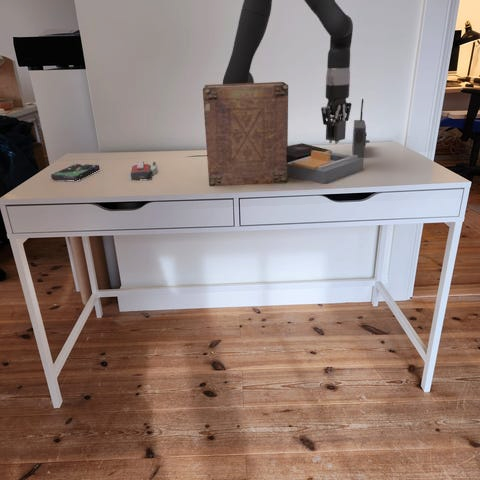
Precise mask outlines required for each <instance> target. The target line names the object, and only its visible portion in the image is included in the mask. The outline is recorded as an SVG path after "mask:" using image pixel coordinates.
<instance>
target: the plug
mask: <svg viewBox="0 0 480 480" xmlns="http://www.w3.org/2000/svg"><path fill="white" fill-rule="evenodd" d="M331 122H332V119H331ZM334 126H335V128H334V137H333V138H329V137H328V135H327V133H328V126H327V125H325V128H326V129H325V140H327V141H329V144H332V141H333V142H334V144H335V145H338V143H339V142H340V141H342V140H346V130H347V129H346V127H347V121H342V120H339V117H337V119H336V121H335V125H334Z"/></svg>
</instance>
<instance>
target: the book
mask: <svg viewBox="0 0 480 480" xmlns="http://www.w3.org/2000/svg"><path fill="white" fill-rule="evenodd" d="M202 97H203V98H202V99H203V110H204V111H203V114H204V128H205V143H206V144H205V145H206V156H207V159H206V160H207V173H208V186H210V187H221V186H222V187H223V186H224V187H225V186H240V185H241V186H245V185H247V186H248V185H264V184H269V185H271V184H286V183H287V182H288V175H287V148H288V146H289V145H288V143H289V142H288V140H289V137H288V136H289V135H288V134H289V130H288V129H289V128H288V127H289V84H287V83H286V82H284V81H276V82H275V81H273V82H272V81H271V82H270V81H269V82H254V83H242V84H223V83H222V84H221V83H219V84H218V83H217V84H216V83H214V84H205V85H204V87H203V88H202Z"/></svg>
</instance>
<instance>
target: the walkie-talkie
mask: <svg viewBox="0 0 480 480" xmlns="http://www.w3.org/2000/svg"><path fill="white" fill-rule="evenodd" d="M156 163H157V162H156V161H153V163H152V165H151V164H149V163H146V164H145V161H138V162H137V164H135V165H132V166H131V171H130V179H131V180H130V181H132V180H136V181H141V180H140V179H149V180H151V179H150V178H152V176H154V175H156V174H158V173H157V172H158V168H157V167H158V166H157V165H156ZM153 174H154V175H153Z"/></svg>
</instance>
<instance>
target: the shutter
mask: <svg viewBox="0 0 480 480" xmlns="http://www.w3.org/2000/svg"><path fill="white" fill-rule="evenodd" d="M328 163H331V161H330V153H326V152H320V151H314V150H313V151H311V158H307V159H303V160H300V161H296V162H293V165H295V166H299V167H304V168H309V169H313V170H315V169H317V167H319V166H322V165H325V164H328Z"/></svg>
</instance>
